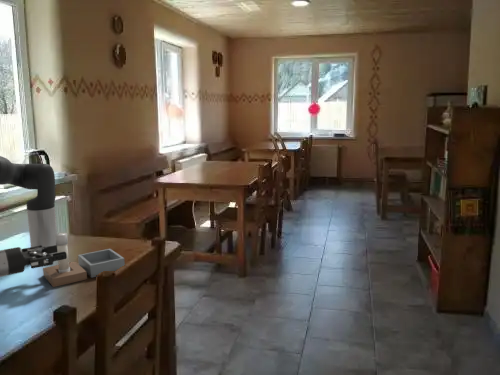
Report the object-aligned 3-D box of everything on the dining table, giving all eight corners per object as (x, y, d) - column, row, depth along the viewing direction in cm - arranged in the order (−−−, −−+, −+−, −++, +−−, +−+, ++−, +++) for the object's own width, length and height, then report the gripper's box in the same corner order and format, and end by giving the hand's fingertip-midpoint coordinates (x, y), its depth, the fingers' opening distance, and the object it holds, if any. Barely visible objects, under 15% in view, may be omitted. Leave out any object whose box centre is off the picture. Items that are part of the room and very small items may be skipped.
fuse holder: (43, 275, 147) (42, 268, 147) (75, 268, 153) (75, 261, 153) (53, 287, 138) (52, 279, 137) (87, 279, 144) (86, 271, 143)
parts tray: (79, 266, 155) (78, 255, 154) (111, 259, 162) (110, 248, 161) (91, 277, 145) (90, 265, 144) (125, 269, 151) (124, 258, 151)
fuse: (58, 277, 146) (53, 234, 143) (69, 274, 148) (65, 232, 145) (60, 280, 143) (56, 236, 141) (72, 277, 145) (68, 234, 143)
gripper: (7, 256, 128) (67, 245, 138) (-1, 244, 140) (55, 234, 149) (10, 282, 130) (70, 269, 139) (2, 268, 141) (57, 257, 150)
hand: (62, 251), depth 144 cm, fingers open, 8 cm apart
